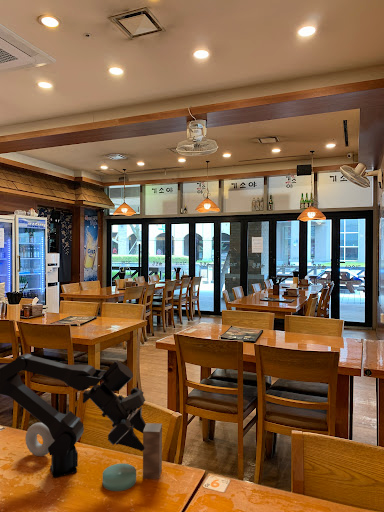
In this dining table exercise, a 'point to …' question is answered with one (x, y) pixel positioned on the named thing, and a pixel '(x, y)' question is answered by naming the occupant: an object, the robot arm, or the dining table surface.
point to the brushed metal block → (152, 451)
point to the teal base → (119, 477)
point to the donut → (33, 442)
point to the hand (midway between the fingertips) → (146, 441)
